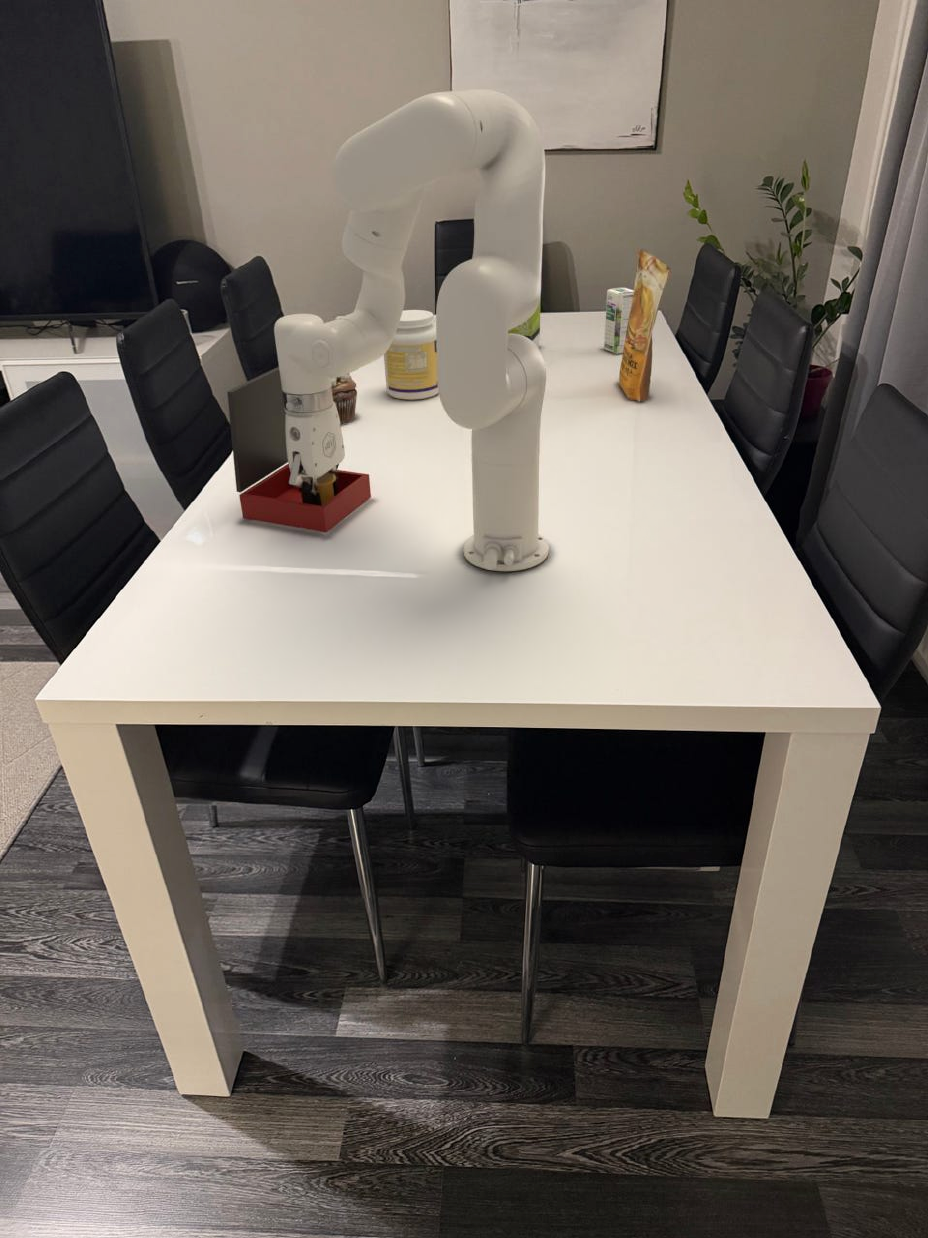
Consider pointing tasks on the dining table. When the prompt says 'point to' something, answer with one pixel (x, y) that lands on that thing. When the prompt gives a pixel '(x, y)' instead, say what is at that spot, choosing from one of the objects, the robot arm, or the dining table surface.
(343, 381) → the cupcake
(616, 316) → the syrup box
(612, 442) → the dining table surface
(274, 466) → the lid
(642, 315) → the pancake mix bag
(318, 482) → the brass drawer pull
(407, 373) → the supplement tub
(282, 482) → the red open tray
